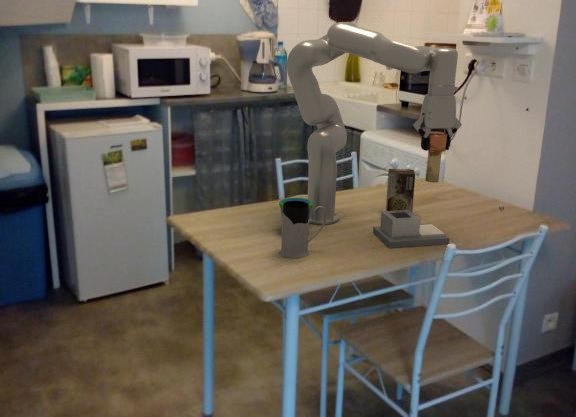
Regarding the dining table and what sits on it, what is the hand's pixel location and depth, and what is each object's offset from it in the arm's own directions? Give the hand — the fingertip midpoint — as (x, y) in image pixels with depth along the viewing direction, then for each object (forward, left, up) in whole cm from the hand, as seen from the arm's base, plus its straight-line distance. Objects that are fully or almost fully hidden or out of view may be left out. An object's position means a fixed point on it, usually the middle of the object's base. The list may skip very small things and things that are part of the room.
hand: (435, 148), depth 191 cm
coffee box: (0, +23, -29) cm, 37 cm away
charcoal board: (-6, 0, -29) cm, 29 cm away
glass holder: (-43, -5, -29) cm, 52 cm away
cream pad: (0, 0, -27) cm, 27 cm away
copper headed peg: (0, 0, -10) cm, 10 cm away
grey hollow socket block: (-10, 0, -27) cm, 29 cm away
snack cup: (-41, +12, -29) cm, 51 cm away
